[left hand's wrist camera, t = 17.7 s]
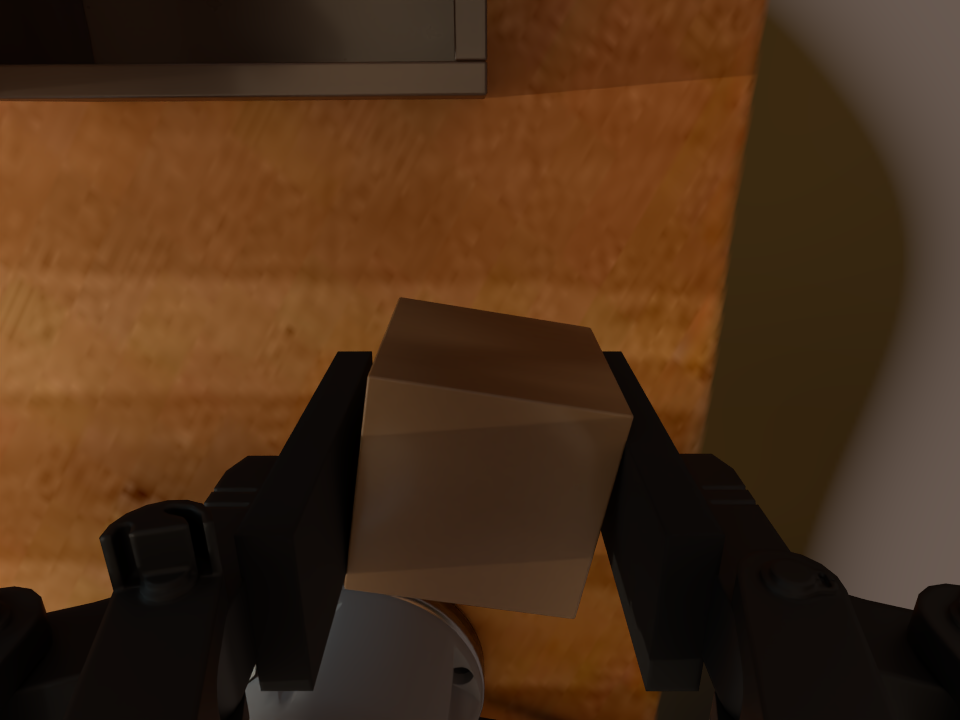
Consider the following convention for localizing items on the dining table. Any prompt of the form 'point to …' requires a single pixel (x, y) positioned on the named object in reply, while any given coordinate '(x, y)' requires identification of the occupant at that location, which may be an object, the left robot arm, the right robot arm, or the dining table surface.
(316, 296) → the dining table surface
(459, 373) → the block
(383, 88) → the chest
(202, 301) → the dining table surface
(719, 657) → the left robot arm
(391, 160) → the dining table surface
